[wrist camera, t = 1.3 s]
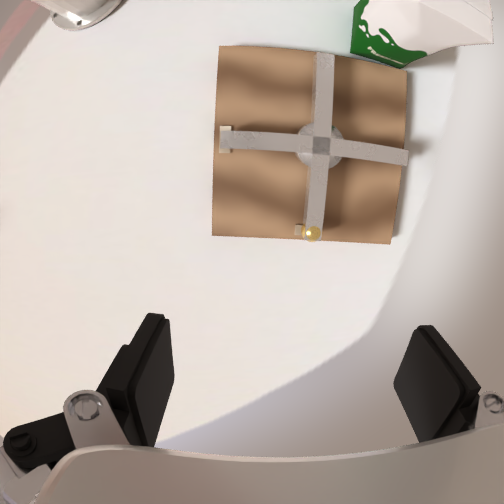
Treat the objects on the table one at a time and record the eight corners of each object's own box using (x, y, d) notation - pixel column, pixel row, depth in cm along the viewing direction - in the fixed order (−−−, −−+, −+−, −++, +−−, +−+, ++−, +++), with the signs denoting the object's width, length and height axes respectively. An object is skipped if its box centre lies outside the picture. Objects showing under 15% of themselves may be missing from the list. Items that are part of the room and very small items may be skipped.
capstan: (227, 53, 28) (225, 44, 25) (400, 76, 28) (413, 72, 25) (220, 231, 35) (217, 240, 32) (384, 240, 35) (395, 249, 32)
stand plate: (220, 50, 29) (218, 45, 27) (399, 73, 30) (407, 70, 28) (214, 230, 37) (211, 236, 35) (384, 239, 38) (391, 245, 36)
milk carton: (408, 21, 27) (502, -30, 8) (405, 78, 30) (516, 51, 11) (347, 0, 27) (415, -82, 8) (341, 58, 30) (425, -5, 11)
